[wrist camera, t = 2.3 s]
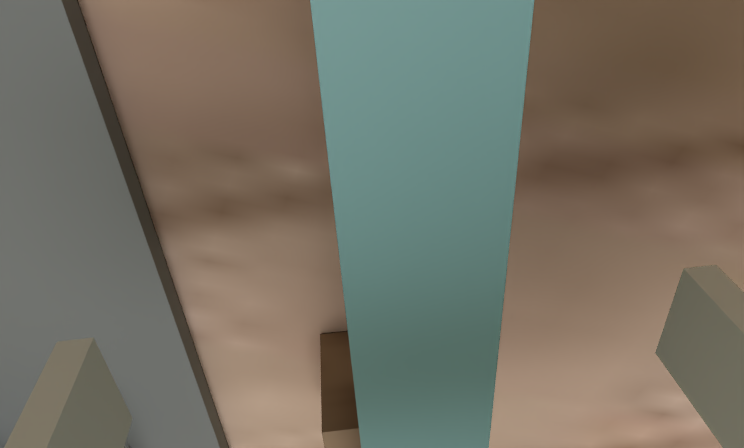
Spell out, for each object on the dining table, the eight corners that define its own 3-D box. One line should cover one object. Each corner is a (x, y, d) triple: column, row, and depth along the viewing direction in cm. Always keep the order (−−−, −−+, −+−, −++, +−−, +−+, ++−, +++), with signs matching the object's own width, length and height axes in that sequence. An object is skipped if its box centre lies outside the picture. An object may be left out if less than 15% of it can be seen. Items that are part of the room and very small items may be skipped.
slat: (462, -337, 9) (585, -495, 5) (441, 479, 23) (470, 619, 18) (281, -327, 9) (255, -480, 5) (369, 488, 22) (381, 631, 18)
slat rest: (476, -281, 13) (549, -341, 9) (452, 379, 27) (477, 475, 23) (227, -266, 13) (189, -322, 9) (329, 393, 27) (332, 492, 22)
